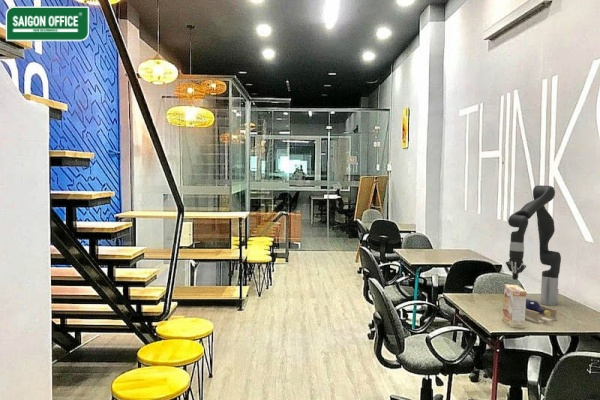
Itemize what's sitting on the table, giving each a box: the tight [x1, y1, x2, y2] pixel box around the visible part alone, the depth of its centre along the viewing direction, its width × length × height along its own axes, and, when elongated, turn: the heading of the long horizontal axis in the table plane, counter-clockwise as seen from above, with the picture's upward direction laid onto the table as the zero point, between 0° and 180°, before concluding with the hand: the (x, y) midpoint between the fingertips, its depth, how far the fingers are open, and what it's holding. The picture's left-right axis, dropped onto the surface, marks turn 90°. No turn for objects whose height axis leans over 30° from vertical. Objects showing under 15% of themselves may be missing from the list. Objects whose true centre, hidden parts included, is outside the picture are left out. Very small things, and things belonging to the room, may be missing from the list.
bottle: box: [526, 297, 551, 316], centre depth 281 cm, size 9×9×30 cm
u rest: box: [525, 305, 558, 325], centre depth 278 cm, size 16×14×6 cm
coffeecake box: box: [502, 283, 527, 329], centre depth 266 cm, size 15×7×20 cm, turn 174°
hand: (515, 279), depth 290 cm, fingers closed
